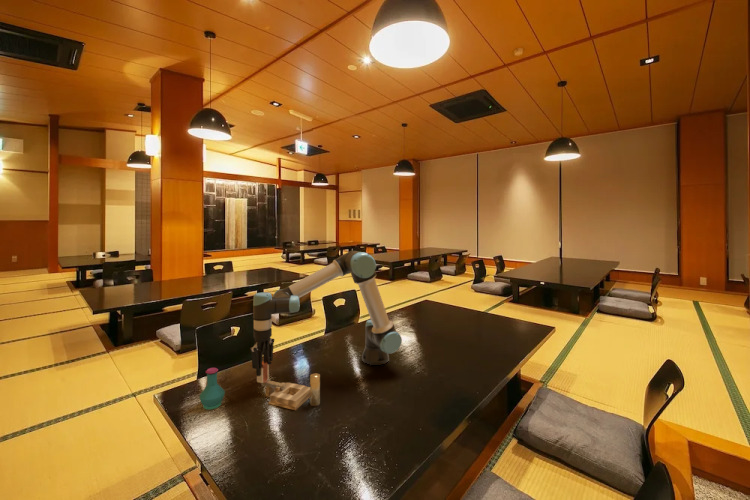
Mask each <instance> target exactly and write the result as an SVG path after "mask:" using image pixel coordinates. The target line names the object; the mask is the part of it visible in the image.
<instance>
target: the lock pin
mask: <svg viewBox="0 0 750 500" xmlns="http://www.w3.org/2000/svg"><path fill="white" fill-rule="evenodd" d="M262 368H263V383H260V384H261V385H260V386H262V387H265V388H266V387H271V388H275V387H280V390H283V389H284V388H286V384H283V383H284V382H277V381H273V380H270V379H267V362H264V360H262Z"/></svg>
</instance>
